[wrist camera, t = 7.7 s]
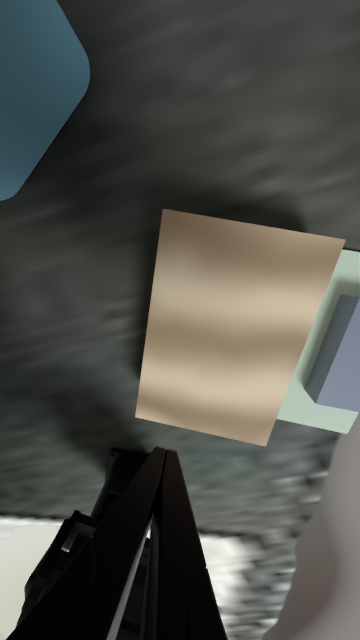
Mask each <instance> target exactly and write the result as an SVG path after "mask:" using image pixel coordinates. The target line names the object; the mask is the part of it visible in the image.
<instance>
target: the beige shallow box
mask: <svg viewBox="0 0 360 640" xmlns="http://www.w3.org/2000/svg"><path fill="white" fill-rule="evenodd" d="M345 241H346V240H344V239H338V238H332V237H326V236H320V235H314V234H308V233H302V232H297V231H291V230H285V229H279V228H273V227H267V226H261V225H256V224H250V223H244V222H238V221H232V220H226V219H220V218H215V217H209V216H203V215H197V214H191V213H185V212H179V211H173V210H168V209H163V212H162V219H161V227H160V234H159V242H158V249H157V257H156V264H155V272H154V279H153V287H152V295H151V302H150V310H149V317H148V325H147V332H146V340H145V347H144V355H143V362H142V370H141V378H140V385H139V393H138V400H137V408H136V415H135V417H137V418H141V419H146V420H150V421H155V422H159V423H164V424H168V425H172V426H177V427H181V428H186V429H190V430H195V431H199V432H204V433H208V434H213V435H217V436H221V437H226V438H230V439H235V440H239V441H244V442H248V443H253V444H257V445H262V446H266V444H267V441H268V439H269V436H270V434H271V431H272V429H273V426H274V423H275V421H276V418H277V416H278V413H279V411H280V408H281V405H282V403H283V400H284V398H285V395H286V393H287V390H288V387H289V385H290V382H291V380H292V377H293V374H294V372H295V369H296V367H297V364H298V362H299V359H300V356H301V354H302V351H303V349H304V346H305V344H306V341H307V338H308V336H309V333H310V331H311V328H312V326H313V323H314V320H315V318H316V315H317V313H318V310H319V308H320V305H321V302H322V300H323V297H324V295H325V292H326V290H327V287H328V284H329V282H330V279H331V277H332V274H333V272H334V269H335V266H336V264H337V261H338V259H339V256H340V254H341V251H342V248H343V246H344V243H345Z"/></svg>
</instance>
